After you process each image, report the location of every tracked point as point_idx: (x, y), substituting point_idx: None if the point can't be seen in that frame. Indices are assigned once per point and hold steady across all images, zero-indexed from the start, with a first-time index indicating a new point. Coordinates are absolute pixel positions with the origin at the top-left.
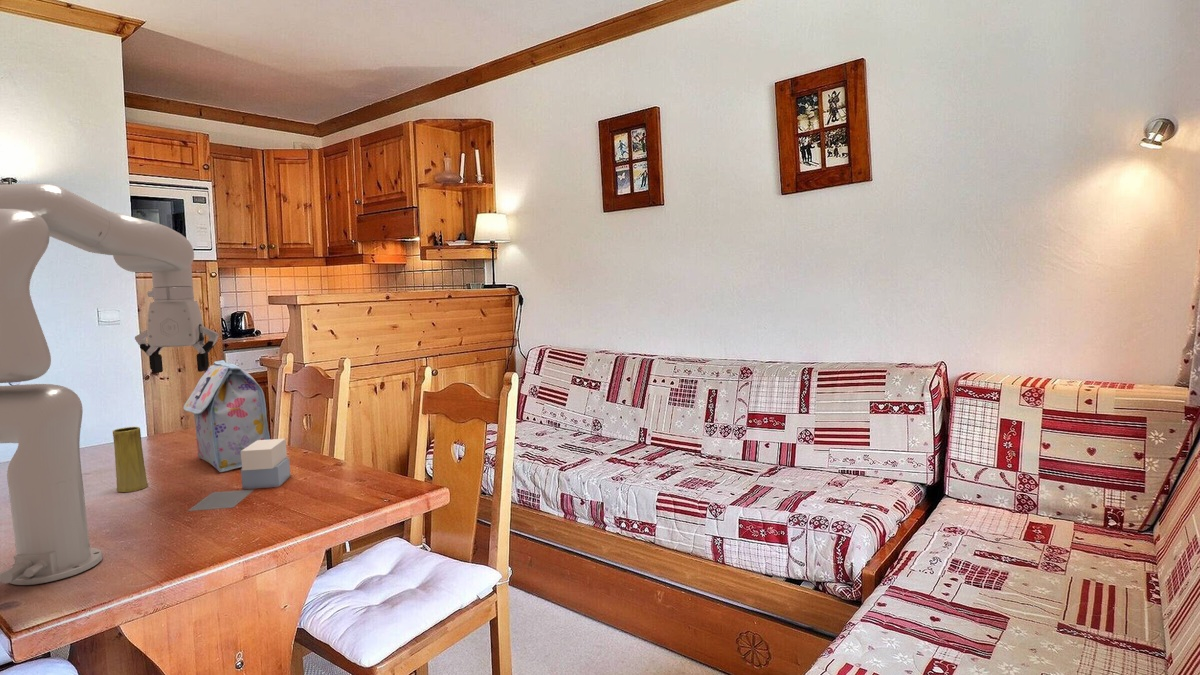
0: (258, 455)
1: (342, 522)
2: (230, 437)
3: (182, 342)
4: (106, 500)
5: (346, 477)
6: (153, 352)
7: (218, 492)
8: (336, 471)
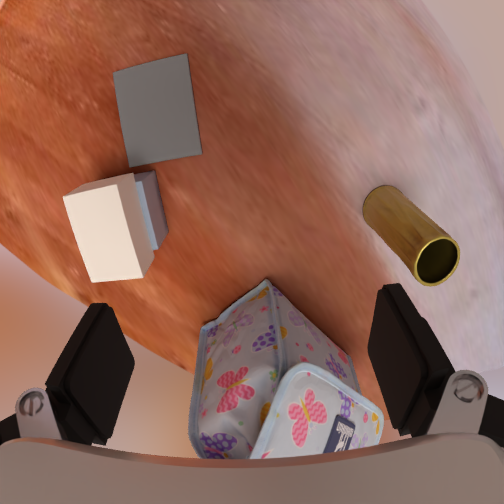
0: (89, 187)
1: None
2: (247, 331)
3: (69, 475)
4: (393, 146)
5: (35, 232)
6: (438, 403)
7: (189, 152)
8: (65, 264)
